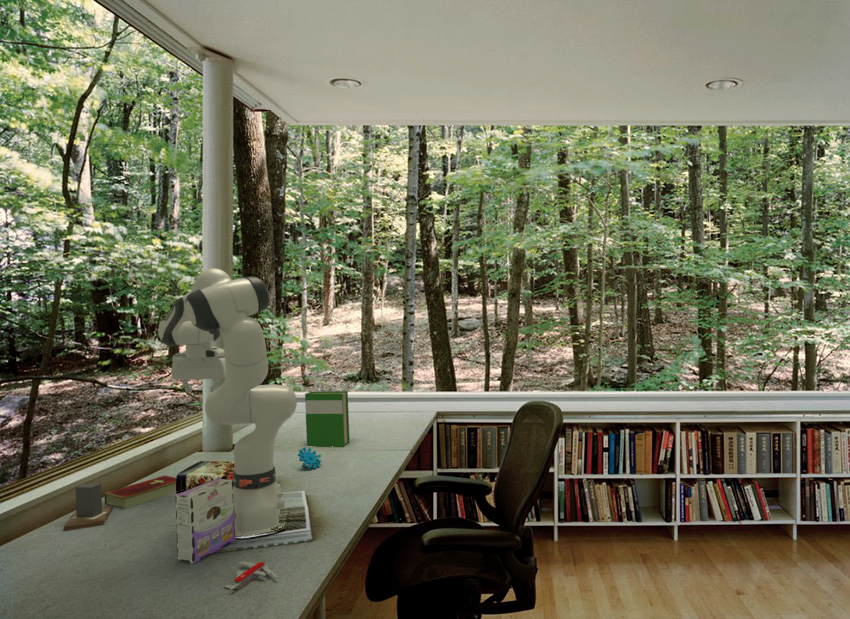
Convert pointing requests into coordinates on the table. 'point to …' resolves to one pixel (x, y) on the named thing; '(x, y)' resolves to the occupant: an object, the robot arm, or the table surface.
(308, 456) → the gear
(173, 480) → the hardcover book
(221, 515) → the candy box
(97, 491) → the block
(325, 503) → the table surface
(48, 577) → the table surface
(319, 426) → the hardback book
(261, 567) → the swiss army knife
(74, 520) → the board
